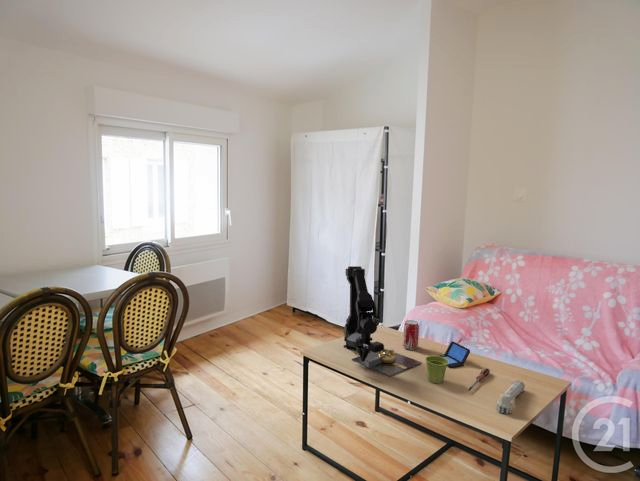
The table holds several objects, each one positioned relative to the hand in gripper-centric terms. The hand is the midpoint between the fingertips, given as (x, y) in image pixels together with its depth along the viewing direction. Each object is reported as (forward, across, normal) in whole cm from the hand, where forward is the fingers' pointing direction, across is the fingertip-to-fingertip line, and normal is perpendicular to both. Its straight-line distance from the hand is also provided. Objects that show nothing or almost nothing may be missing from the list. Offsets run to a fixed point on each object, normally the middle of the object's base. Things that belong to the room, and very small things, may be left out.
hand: (362, 361), depth 193 cm
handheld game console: (+2, +22, +35) cm, 41 cm away
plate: (+2, +4, +12) cm, 12 cm away
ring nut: (+1, +4, +7) cm, 8 cm away
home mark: (+2, +11, +12) cm, 16 cm away
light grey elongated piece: (+3, +56, +20) cm, 60 cm away
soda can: (+2, 0, +34) cm, 35 cm away
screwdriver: (+3, +41, +25) cm, 48 cm away
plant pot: (+2, +29, +13) cm, 31 cm away
